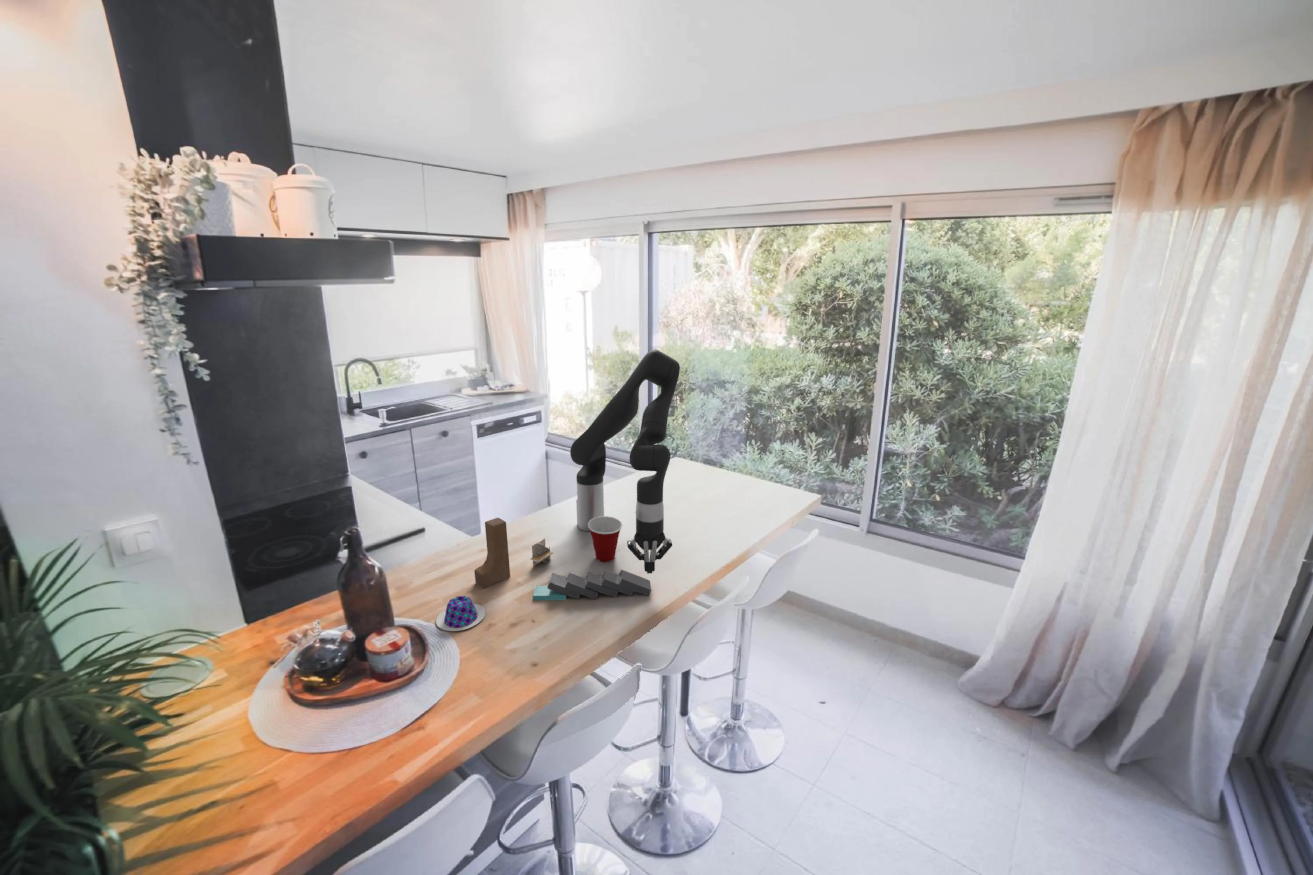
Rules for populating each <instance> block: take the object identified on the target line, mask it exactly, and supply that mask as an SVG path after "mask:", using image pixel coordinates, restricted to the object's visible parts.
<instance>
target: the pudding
mask: <svg viewBox="0 0 1313 875" xmlns="http://www.w3.org/2000/svg"><path fill="white" fill-rule="evenodd" d="M485 616H486V610H485V608H484V607H483V606H482V605H480V604H477V603H474V602H473V600H472V598H471V597H469V596H467V595H459V596H455V597H454V598H451V599H450V600H449V601H448V602H447V605H446V607H445V609H444V610H442V611H441V612H440V613H438V616H437V617H436V620H435V623H436V626H437V627H438V628H440V629H441V630H444V631H448V632H457V631H458V632H459V631H464V630H467V629H470V628H472V627H474V626H476V625H478V624H479V623H480V622H481V621H483V620H484V618H485ZM473 621H474V622H473Z"/></svg>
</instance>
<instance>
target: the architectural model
mask: <svg viewBox="0 0 1313 875" xmlns="http://www.w3.org/2000/svg"><path fill="white" fill-rule="evenodd" d="M531 554H532V557H530V560H531V561H532V566H533V567H535V566H537V565H538V564H540V563H542V562H543V563H547V560H548V561H551V555H553V554H554V551H551V546H549V547H547V546H546V539H545V538H543V539H541V540H539V541H537V542H535V543H534V544H532V545H531Z"/></svg>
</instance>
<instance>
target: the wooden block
mask: <svg viewBox="0 0 1313 875" xmlns="http://www.w3.org/2000/svg"><path fill="white" fill-rule="evenodd" d="M484 528H485V537H486V538H485V539H486V549H487V555H486V559H485V560H484V561H483V564H482V565H480V566H478V567H476V568H475V569H474V571H473V572H474V579H475V580H474V581H475V584H476V585H477V586H478V587H480V588H481V589H486V588H488V587H492V586H493V585H495V584H497V583H499V582H502V581H505V580H506V579H509V578H510V577H511V569H510V568H511V567H510V556H509V546H508V545H509V543H508V533H507V532H508V531H507V530H508V529H507V522H506V521H505V520H503V519H501V518H500V517H495V518H492V519H489V520H487V521H484Z"/></svg>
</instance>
